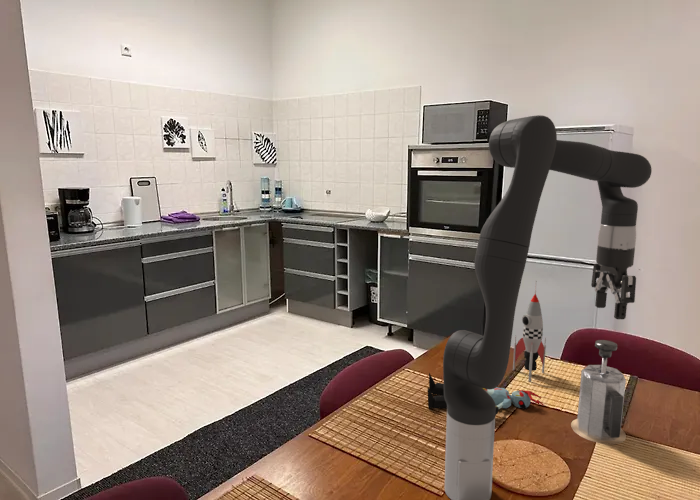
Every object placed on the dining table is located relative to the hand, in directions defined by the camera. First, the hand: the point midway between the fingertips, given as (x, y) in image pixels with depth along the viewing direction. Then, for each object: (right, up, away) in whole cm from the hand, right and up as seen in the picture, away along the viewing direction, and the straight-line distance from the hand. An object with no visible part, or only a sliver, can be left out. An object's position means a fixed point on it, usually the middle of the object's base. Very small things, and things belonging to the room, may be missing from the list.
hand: (609, 313), depth 114 cm
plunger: (0, -25, +5) cm, 26 cm away
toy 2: (-4, -24, +38) cm, 45 cm away
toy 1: (-24, -28, +20) cm, 42 cm away
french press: (0, -30, +4) cm, 30 cm away
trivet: (0, -30, +6) cm, 30 cm away
